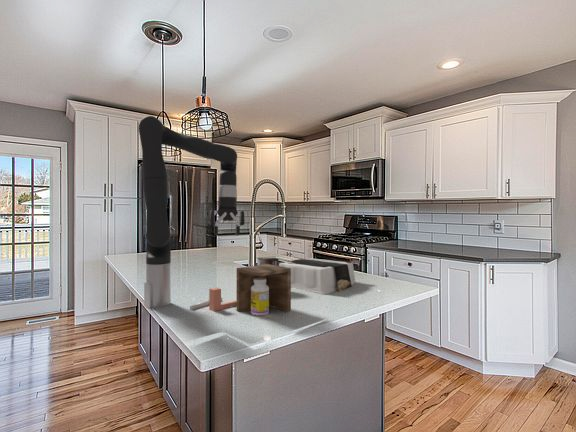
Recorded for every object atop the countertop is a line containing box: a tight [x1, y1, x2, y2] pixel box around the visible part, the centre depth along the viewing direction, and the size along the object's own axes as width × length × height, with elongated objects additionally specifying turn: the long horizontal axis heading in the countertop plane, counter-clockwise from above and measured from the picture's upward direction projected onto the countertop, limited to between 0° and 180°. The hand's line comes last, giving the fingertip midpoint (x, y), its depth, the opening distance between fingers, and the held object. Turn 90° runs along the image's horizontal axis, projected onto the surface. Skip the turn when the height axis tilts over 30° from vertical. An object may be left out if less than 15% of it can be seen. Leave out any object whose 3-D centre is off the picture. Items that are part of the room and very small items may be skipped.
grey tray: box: [279, 257, 356, 295], centre depth 167 cm, size 35×33×12 cm
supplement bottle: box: [250, 278, 270, 317], centre depth 120 cm, size 7×7×13 cm
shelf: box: [236, 264, 292, 313], centre depth 123 cm, size 15×14×16 cm
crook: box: [208, 287, 237, 312], centre depth 133 cm, size 19×8×8 cm, turn 133°
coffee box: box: [257, 256, 280, 266], centre depth 154 cm, size 9×6×16 cm
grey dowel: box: [189, 296, 223, 311], centre depth 132 cm, size 16×2×2 cm, turn 148°
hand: (226, 235), depth 137 cm, fingers open, 8 cm apart
